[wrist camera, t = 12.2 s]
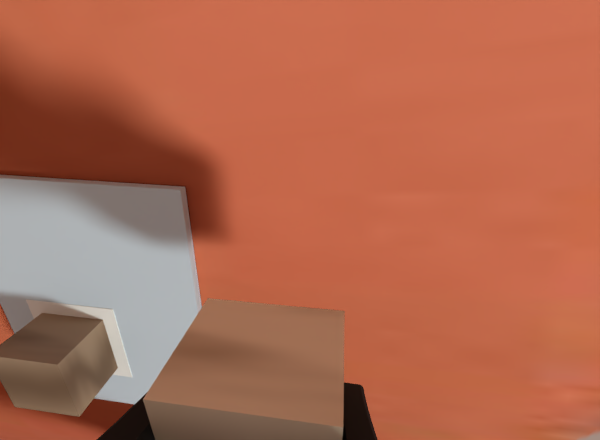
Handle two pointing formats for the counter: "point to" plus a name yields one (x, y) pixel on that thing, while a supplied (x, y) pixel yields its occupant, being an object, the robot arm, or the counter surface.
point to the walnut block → (57, 363)
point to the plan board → (102, 266)
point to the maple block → (253, 375)
